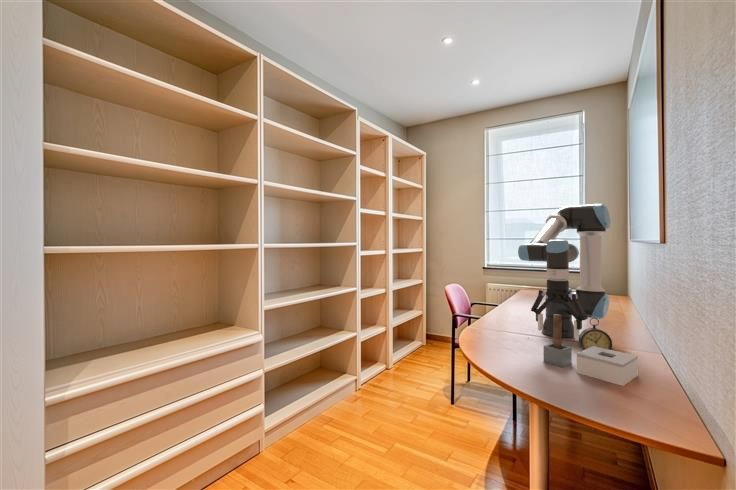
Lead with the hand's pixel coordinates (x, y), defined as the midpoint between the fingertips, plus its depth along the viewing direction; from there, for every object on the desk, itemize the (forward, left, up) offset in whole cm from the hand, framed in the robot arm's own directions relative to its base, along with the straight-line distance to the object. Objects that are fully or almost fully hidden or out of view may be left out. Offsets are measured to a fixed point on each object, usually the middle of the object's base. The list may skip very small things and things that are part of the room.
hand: (557, 333), depth 133 cm
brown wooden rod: (+1, 0, -11) cm, 11 cm away
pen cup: (0, 0, -11) cm, 11 cm away
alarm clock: (-17, +6, -11) cm, 22 cm away
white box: (-2, +16, -11) cm, 20 cm away
